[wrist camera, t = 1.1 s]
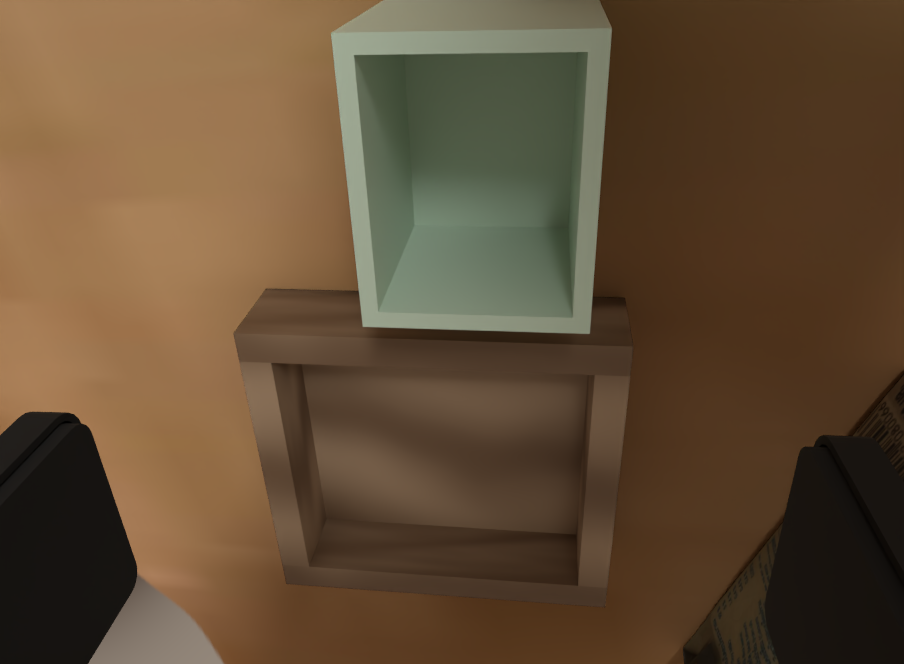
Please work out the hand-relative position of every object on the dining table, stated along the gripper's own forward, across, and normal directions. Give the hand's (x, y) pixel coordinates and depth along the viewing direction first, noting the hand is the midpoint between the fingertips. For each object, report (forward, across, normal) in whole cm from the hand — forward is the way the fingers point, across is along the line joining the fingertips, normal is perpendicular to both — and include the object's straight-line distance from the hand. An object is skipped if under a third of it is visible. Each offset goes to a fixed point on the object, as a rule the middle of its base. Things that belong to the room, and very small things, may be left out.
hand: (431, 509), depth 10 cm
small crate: (+18, 0, -1) cm, 18 cm away
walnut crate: (+18, +2, +12) cm, 22 cm away
